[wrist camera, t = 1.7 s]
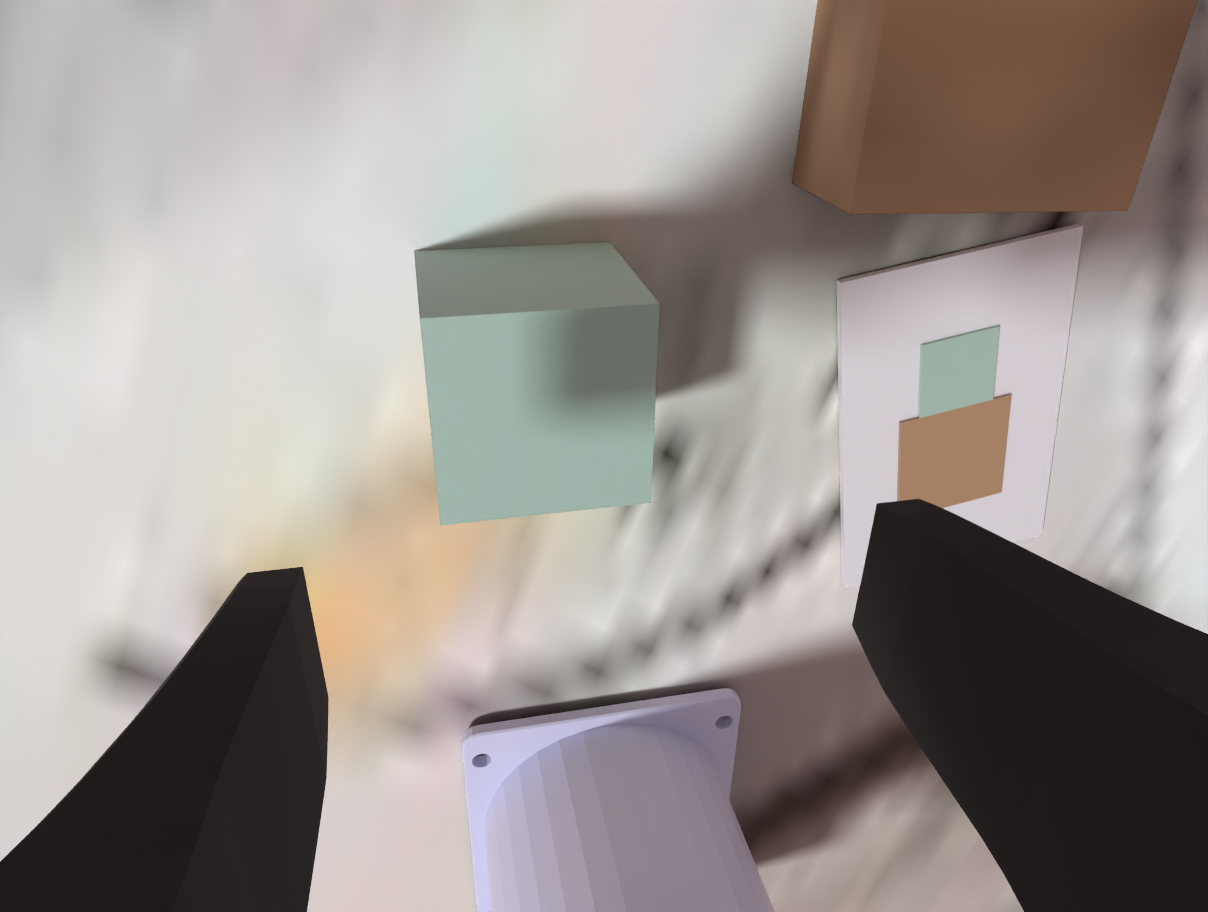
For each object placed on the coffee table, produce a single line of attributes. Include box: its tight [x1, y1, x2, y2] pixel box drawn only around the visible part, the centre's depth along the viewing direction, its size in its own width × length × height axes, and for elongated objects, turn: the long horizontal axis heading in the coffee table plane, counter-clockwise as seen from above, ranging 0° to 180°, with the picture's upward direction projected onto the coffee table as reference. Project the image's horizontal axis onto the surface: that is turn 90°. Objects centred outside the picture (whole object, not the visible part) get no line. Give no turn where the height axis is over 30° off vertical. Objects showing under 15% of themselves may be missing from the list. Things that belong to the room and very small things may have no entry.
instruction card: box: [837, 224, 1083, 589], centre depth 22 cm, size 9×6×1 cm, turn 10°
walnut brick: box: [792, 0, 1198, 214], centre depth 16 cm, size 6×6×3 cm
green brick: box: [414, 242, 660, 525], centre depth 17 cm, size 4×4×4 cm
